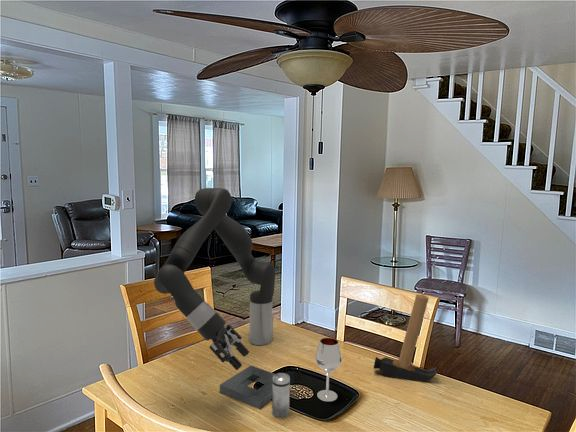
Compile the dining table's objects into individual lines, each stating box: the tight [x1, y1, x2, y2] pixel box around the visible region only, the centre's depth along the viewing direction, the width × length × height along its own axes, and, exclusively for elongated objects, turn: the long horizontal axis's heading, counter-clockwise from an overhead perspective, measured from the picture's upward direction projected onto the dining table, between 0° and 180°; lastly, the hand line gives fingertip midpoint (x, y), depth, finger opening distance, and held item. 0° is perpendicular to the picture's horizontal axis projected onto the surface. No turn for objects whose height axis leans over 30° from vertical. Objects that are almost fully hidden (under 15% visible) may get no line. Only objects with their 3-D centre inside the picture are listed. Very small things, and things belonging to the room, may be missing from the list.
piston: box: [271, 372, 291, 419], centre depth 121 cm, size 5×5×11 cm
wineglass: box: [315, 337, 343, 402], centre depth 130 cm, size 8×8×18 cm
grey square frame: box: [219, 365, 276, 410], centre depth 134 cm, size 16×16×2 cm
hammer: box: [373, 294, 437, 383], centre depth 143 cm, size 20×5×30 cm, turn 76°
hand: (243, 360), depth 121 cm, fingers open, 8 cm apart
